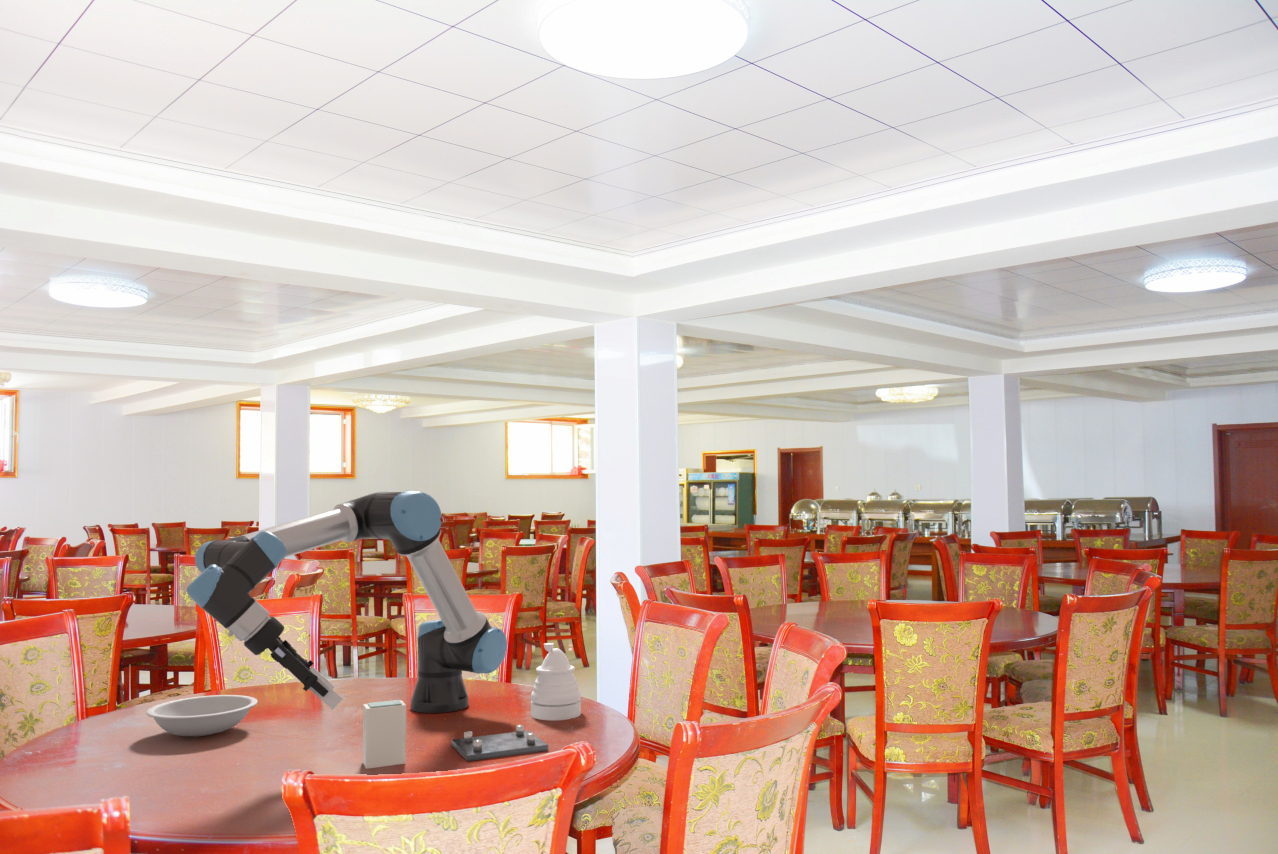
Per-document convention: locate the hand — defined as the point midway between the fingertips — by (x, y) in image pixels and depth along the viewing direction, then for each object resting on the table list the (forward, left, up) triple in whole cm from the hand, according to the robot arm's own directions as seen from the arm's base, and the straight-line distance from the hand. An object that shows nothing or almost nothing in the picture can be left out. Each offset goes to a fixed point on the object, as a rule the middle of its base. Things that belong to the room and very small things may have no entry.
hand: (333, 697), depth 183 cm
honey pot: (-24, +57, -15) cm, 64 cm away
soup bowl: (-45, -25, -15) cm, 54 cm away
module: (0, +10, -14) cm, 18 cm away
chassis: (0, +35, -14) cm, 38 cm away
